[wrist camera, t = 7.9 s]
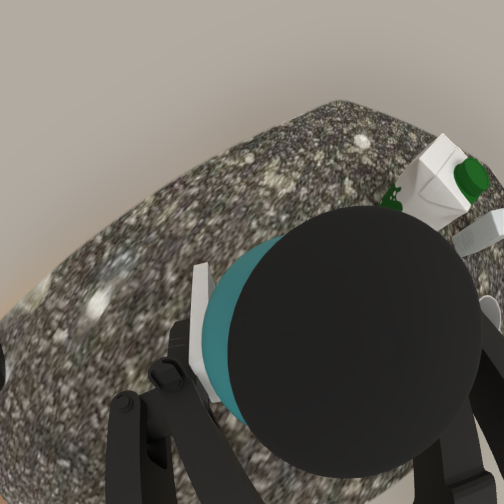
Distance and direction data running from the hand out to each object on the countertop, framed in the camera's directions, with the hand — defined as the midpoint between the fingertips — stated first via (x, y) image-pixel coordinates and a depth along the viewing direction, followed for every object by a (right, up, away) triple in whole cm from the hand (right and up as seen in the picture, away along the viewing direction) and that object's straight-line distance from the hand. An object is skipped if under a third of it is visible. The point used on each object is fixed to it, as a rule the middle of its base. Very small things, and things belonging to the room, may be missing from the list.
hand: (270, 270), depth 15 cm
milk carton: (+22, +5, +26) cm, 34 cm away
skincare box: (+38, +2, +24) cm, 45 cm away
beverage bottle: (+1, -6, +7) cm, 9 cm away
